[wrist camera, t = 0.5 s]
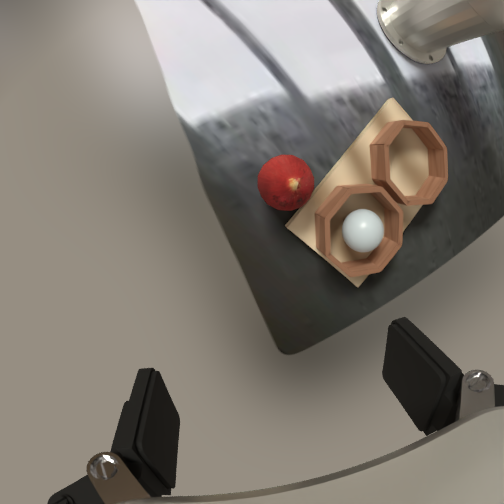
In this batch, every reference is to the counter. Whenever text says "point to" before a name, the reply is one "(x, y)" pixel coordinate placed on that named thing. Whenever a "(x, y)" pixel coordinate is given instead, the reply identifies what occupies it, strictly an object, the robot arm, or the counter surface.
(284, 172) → the onion
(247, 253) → the counter surface
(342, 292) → the counter surface
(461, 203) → the counter surface
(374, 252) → the pot board
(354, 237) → the white ball
